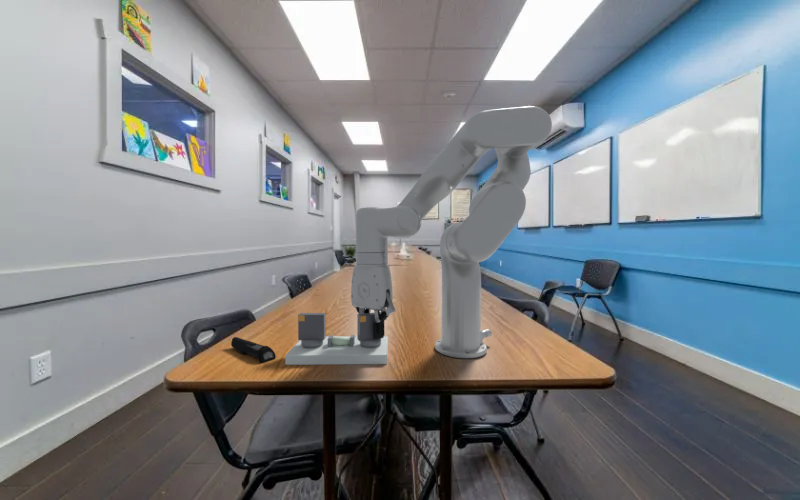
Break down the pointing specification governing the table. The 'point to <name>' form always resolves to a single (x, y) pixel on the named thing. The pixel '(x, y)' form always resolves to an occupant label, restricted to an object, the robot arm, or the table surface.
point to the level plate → (338, 352)
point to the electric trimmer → (253, 349)
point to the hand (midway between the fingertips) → (372, 335)
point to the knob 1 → (311, 329)
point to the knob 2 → (366, 330)
